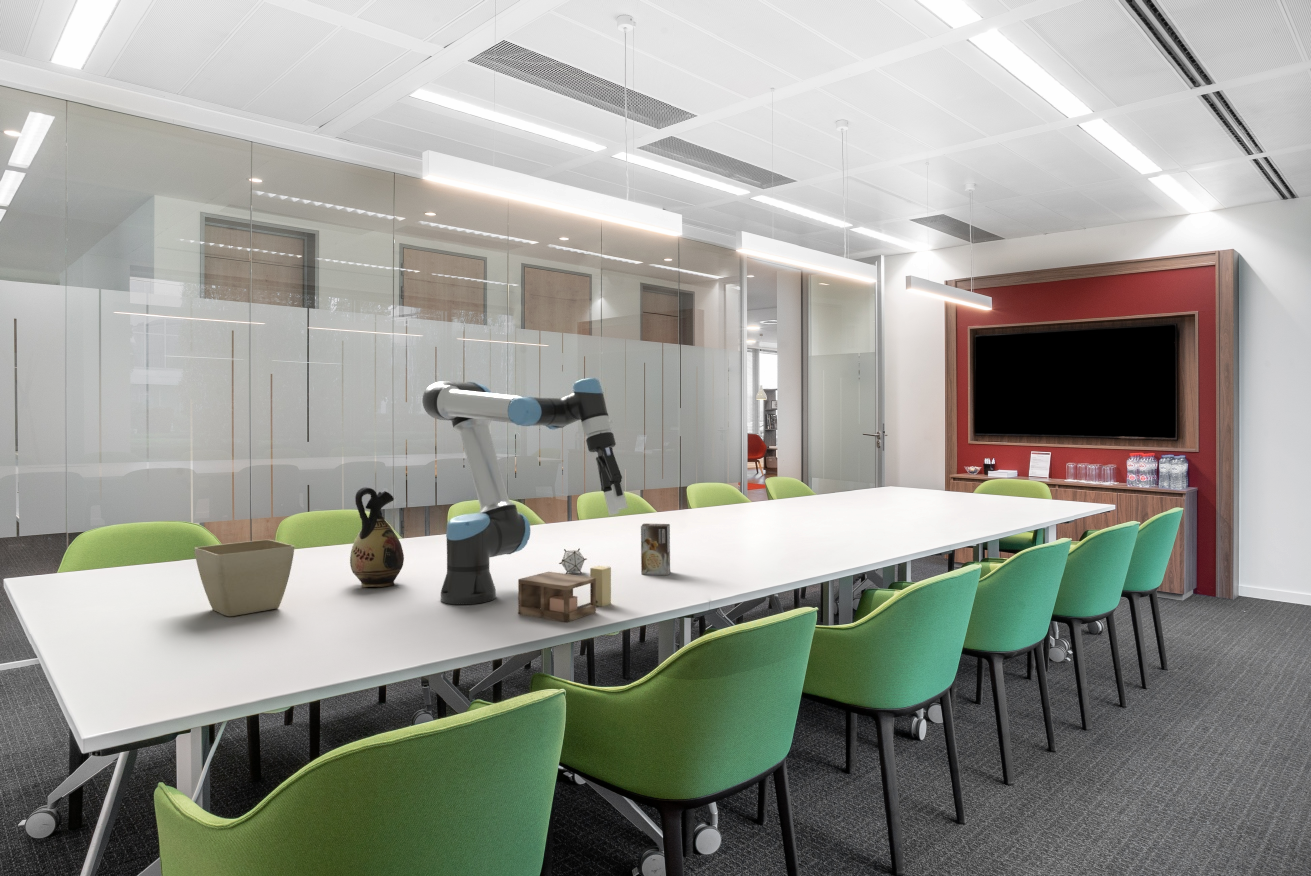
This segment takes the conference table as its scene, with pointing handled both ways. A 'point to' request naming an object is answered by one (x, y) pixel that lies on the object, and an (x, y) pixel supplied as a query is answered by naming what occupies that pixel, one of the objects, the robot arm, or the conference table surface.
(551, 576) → the shelf
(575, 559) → the game die
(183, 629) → the conference table surface
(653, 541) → the coffee box
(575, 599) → the block
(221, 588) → the flower pot
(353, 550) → the ceramic jug
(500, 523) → the robot arm
